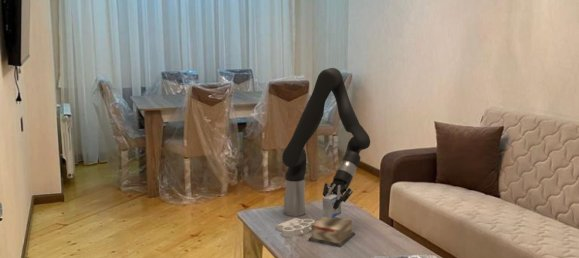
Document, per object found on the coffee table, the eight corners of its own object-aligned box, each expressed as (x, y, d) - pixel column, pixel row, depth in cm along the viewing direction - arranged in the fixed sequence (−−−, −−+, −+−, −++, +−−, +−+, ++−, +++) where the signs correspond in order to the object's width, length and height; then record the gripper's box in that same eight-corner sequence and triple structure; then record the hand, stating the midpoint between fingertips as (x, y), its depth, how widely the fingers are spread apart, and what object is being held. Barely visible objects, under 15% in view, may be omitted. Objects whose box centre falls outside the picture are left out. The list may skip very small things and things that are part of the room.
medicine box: (331, 219, 246) (331, 199, 245) (322, 217, 249) (322, 197, 247) (341, 213, 253) (341, 194, 251) (332, 211, 255) (332, 192, 254)
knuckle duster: (298, 221, 274) (321, 229, 264) (270, 232, 262) (293, 240, 251) (298, 214, 273) (321, 222, 263) (270, 225, 261) (293, 233, 251)
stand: (308, 240, 250) (308, 225, 249) (323, 229, 263) (323, 214, 262) (340, 247, 243) (340, 231, 242) (354, 234, 256) (354, 219, 254)
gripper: (328, 166, 257) (312, 200, 251) (355, 171, 248) (339, 206, 242) (335, 175, 262) (319, 208, 256) (362, 180, 253) (347, 215, 247)
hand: (329, 207), depth 249 cm, fingers closed on medicine box, 4 cm apart
